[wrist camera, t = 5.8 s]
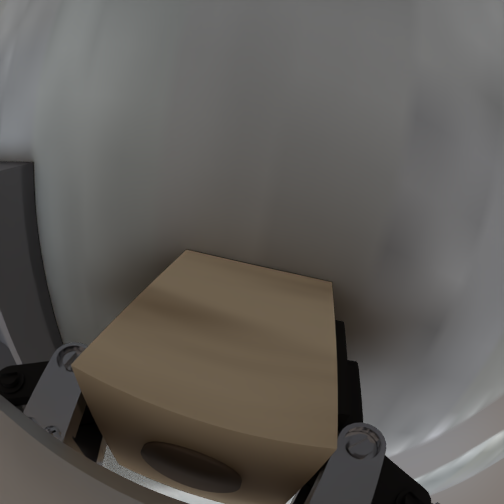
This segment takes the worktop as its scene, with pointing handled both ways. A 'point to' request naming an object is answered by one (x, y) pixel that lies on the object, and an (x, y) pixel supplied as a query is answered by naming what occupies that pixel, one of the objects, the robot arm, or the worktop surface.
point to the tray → (22, 274)
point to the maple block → (219, 380)
